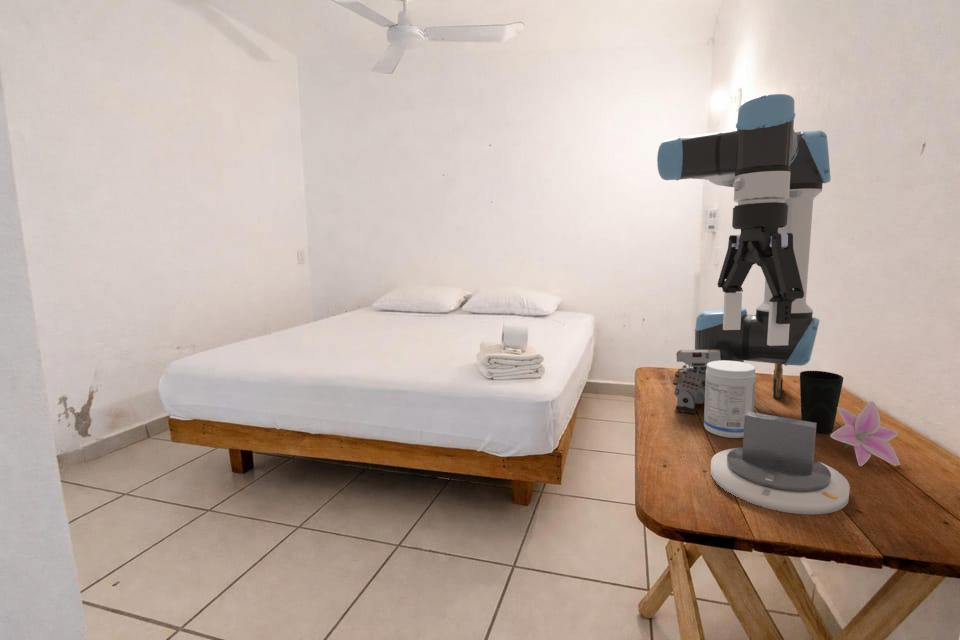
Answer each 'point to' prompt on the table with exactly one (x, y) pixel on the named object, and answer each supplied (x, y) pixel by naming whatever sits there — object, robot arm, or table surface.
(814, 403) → the cup
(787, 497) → the dial base
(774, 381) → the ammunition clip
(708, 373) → the supplement tub
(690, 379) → the figurine
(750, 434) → the dial
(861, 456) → the lily
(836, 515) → the table surface
